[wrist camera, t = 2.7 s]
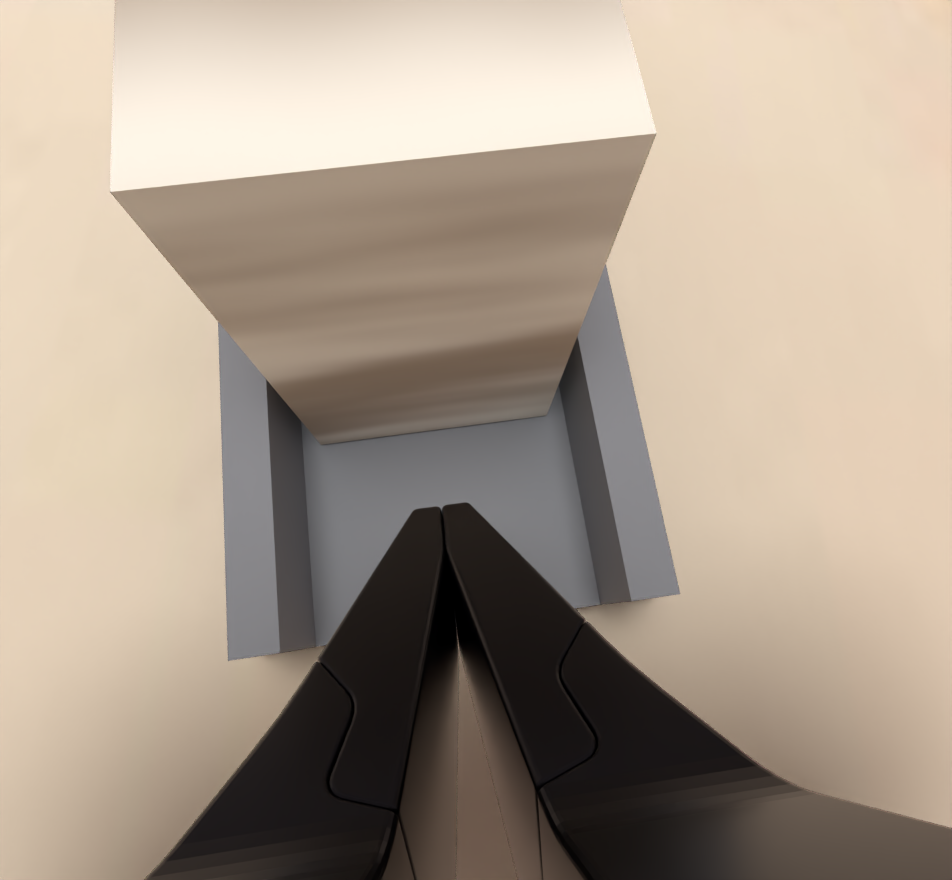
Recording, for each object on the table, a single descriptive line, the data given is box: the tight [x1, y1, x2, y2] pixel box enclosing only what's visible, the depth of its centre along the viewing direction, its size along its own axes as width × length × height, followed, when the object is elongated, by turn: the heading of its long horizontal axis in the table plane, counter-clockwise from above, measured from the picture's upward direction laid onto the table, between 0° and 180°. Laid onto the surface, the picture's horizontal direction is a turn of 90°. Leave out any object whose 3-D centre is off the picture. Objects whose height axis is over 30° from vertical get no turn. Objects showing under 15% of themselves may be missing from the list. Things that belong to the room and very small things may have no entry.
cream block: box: [110, 0, 656, 445], centre depth 12 cm, size 4×6×10 cm, turn 98°
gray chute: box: [218, 264, 680, 661], centre depth 16 cm, size 14×10×4 cm
